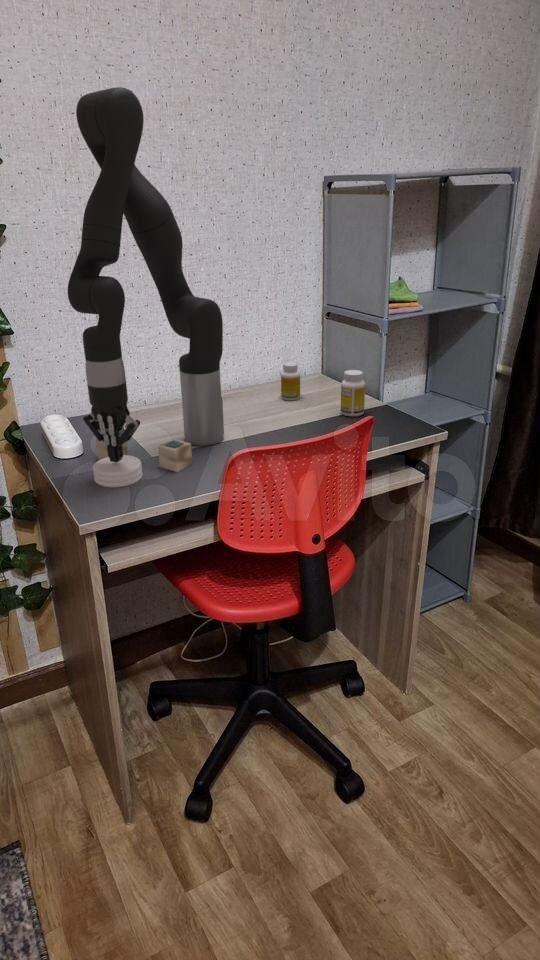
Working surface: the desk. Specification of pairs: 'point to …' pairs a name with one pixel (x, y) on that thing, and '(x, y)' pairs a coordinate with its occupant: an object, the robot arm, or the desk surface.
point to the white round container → (117, 471)
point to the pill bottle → (352, 393)
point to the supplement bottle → (290, 381)
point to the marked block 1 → (103, 449)
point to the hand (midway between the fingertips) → (116, 460)
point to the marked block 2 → (175, 455)
